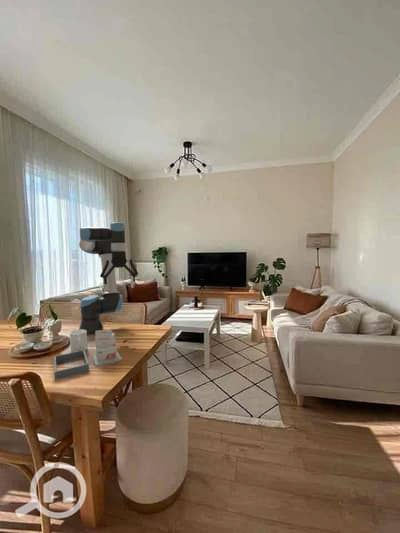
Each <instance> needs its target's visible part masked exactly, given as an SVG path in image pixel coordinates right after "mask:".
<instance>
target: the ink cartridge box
mask: <svg viewBox="0 0 400 533" xmlns="http://www.w3.org/2000/svg"><path fill="white" fill-rule="evenodd" d="M115 333H116V332H113V330H112V329H103V330H98V331H95V333H94V334H95V338H94V339H95V355H96V357H97V360H102V359H114V358H115V356H116V350H117V349H116V348H117V344H116V334H115Z"/></svg>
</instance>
